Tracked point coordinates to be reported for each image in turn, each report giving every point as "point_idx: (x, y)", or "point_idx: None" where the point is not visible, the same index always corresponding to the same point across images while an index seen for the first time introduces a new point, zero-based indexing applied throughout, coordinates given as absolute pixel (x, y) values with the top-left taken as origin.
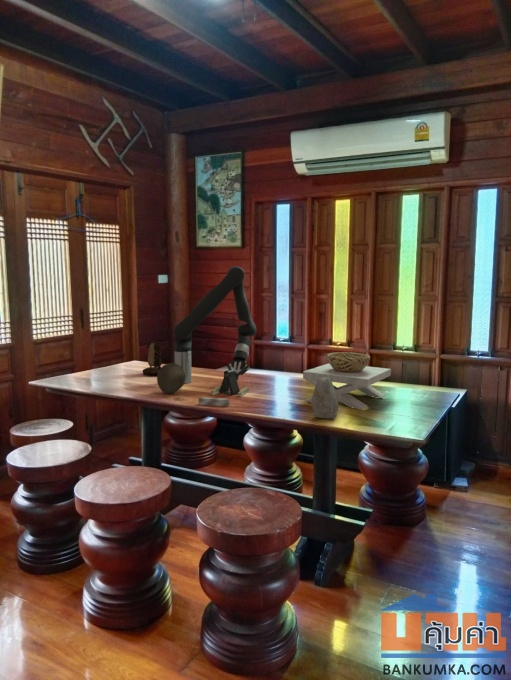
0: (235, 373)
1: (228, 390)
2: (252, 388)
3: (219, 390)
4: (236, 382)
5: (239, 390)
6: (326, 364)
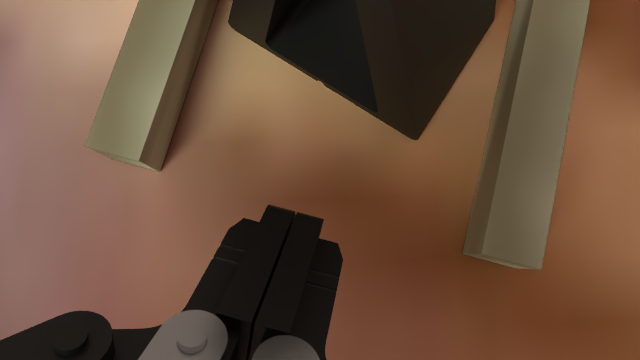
0: (260, 320)
1: (381, 107)
2: None
3: (500, 100)
4: None
5: (232, 8)
6: None
